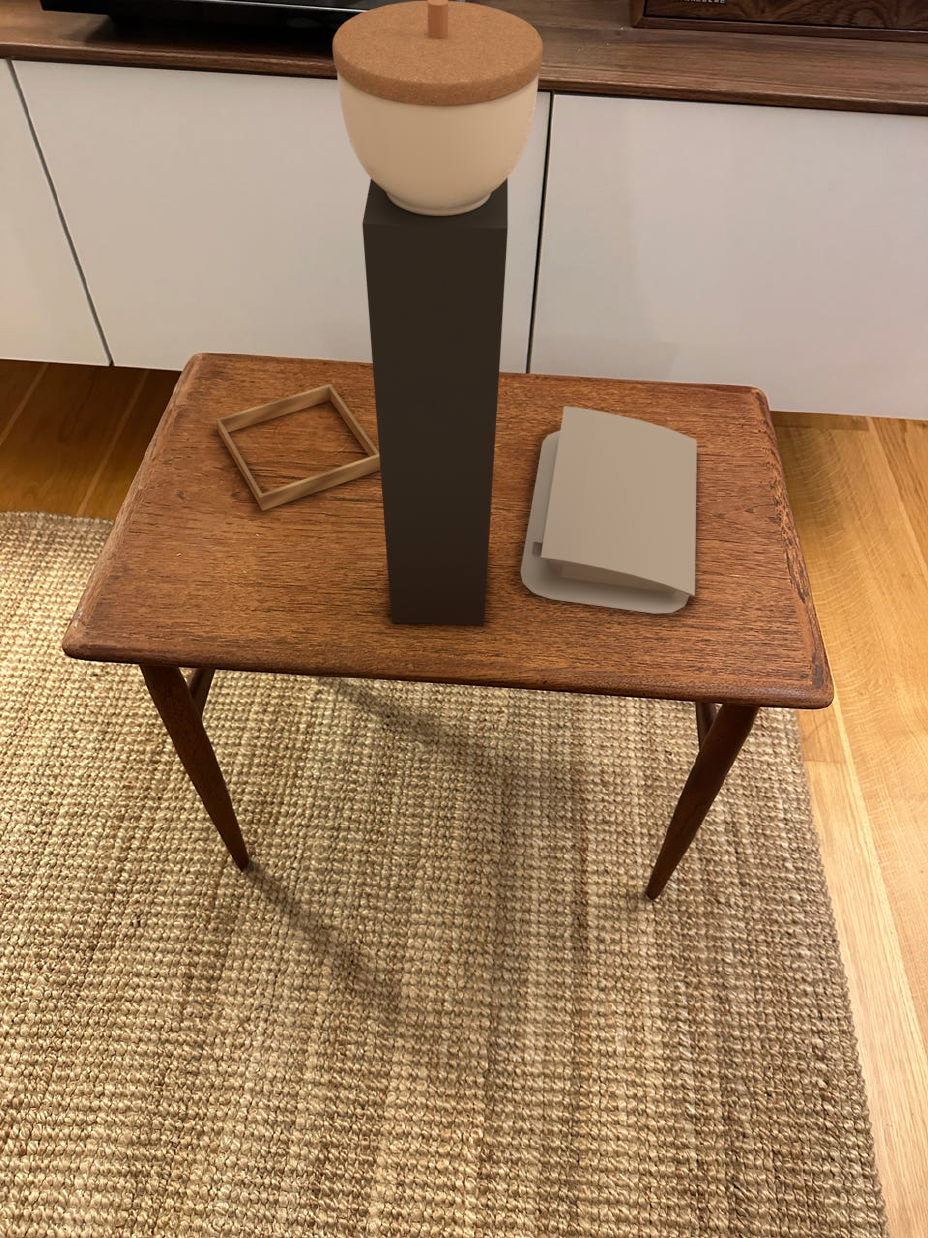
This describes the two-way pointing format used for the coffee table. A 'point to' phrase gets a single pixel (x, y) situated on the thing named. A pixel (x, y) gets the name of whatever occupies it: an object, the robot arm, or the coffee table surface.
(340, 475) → the empty wooden frame
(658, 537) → the beige covered tray
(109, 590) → the coffee table surface
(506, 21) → the trinket box
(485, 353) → the pedestal
